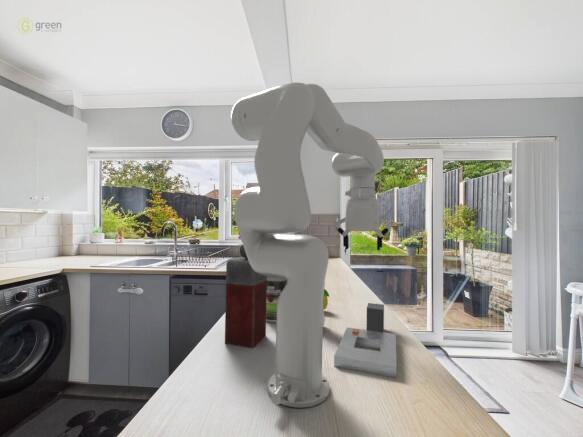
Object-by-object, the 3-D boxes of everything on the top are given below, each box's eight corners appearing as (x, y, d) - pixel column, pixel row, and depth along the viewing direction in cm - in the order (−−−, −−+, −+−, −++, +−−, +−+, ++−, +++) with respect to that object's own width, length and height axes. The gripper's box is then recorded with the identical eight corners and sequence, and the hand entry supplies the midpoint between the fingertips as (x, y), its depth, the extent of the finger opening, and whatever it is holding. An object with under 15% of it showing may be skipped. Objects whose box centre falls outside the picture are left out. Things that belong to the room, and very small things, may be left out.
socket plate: (396, 377, 63) (396, 363, 63) (334, 366, 68) (334, 353, 68) (395, 342, 82) (395, 331, 82) (346, 335, 87) (346, 325, 87)
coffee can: (284, 323, 96) (285, 282, 96) (255, 320, 99) (256, 280, 99) (291, 314, 106) (292, 276, 106) (265, 311, 109) (266, 274, 109)
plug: (383, 336, 87) (383, 309, 87) (366, 333, 89) (366, 307, 89) (384, 326, 95) (384, 302, 96) (368, 324, 97) (369, 300, 97)
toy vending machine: (269, 333, 87) (270, 242, 88) (253, 348, 77) (255, 244, 77) (243, 329, 90) (244, 241, 91) (224, 343, 80) (226, 243, 80)
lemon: (329, 314, 106) (329, 287, 107) (313, 314, 107) (313, 287, 107) (327, 309, 113) (328, 284, 113) (313, 308, 113) (313, 283, 114)
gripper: (332, 194, 88) (332, 250, 88) (391, 193, 82) (392, 251, 82) (336, 196, 95) (336, 247, 95) (391, 194, 89) (391, 248, 90)
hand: (362, 249), depth 89 cm, fingers open, 9 cm apart
